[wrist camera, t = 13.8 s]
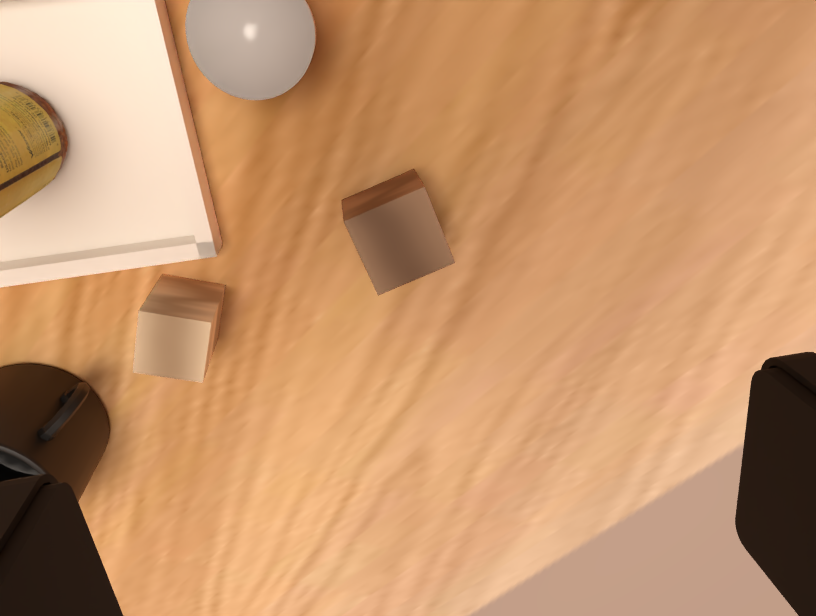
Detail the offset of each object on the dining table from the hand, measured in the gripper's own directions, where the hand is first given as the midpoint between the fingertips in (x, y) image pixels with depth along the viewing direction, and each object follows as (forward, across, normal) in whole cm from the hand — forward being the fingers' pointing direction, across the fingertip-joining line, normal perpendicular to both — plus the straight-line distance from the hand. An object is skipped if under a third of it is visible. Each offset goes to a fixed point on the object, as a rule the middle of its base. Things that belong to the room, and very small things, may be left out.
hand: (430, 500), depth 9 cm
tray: (+34, +19, -2) cm, 39 cm away
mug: (+34, +23, +16) cm, 44 cm away
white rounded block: (+34, +4, -6) cm, 35 cm away
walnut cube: (+34, -2, +6) cm, 35 cm away
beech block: (+34, +12, +10) cm, 38 cm away
